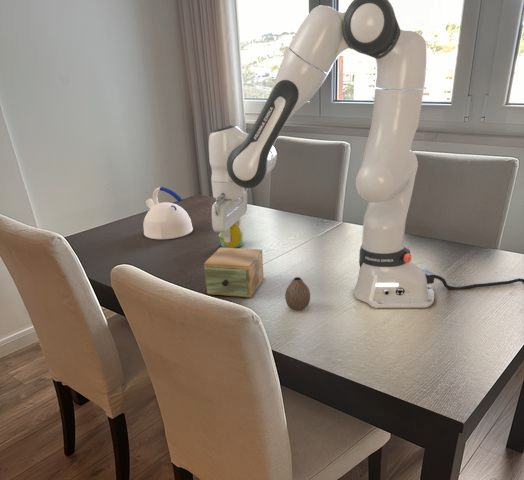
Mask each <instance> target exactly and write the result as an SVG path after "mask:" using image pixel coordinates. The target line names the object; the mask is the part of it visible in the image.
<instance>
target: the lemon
mask: <svg viewBox="0 0 524 480" xmlns="http://www.w3.org/2000/svg"><path fill="white" fill-rule="evenodd" d="M229 232H230V235H231V237H232V240H231V241H230V242H229V243H227V242H225V241H224V242H225V244H226V245H228V246H230V247H231V248H234V247H235V246H237V245H238V244H239V243H240V241H241V232H242V230H241V228H240V225H239V226H238V225H237V224H236V223H234V224H233V225H232V226H231V227H230V231H229ZM222 236H223V234H222ZM223 240H224V236H223Z"/></svg>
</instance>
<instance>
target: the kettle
mask: <svg viewBox="0 0 524 480" xmlns="http://www.w3.org/2000/svg"><path fill="white" fill-rule="evenodd" d="M160 191H162V192H165V193H166V194H169V195H170V196H172V197H173V198H174V199H175V200H176V201H177V203H181V202H183V201H184V200H183V198H182V197H181V196H180V195H179V194H178V193H177V192H175V191H173V190H171V189H169V188H168V187H164V186H159V187H156V188H155V189H154V190H153V192H152V196H151V197H152V198H148V199H146V201H144V202H145V203H144V204H145V206H146V207H147V208H148V209H149V210H148V211H147V213H146V215H145V217H144V219H143V222H142V226H143V236H144V237H146V238H148V239H151V240H161V241H162V240H163V241H164V240H173V239H174V240H175V239H178V238H182V237H185V236H188V235H189V234H191V233H192V232H193V230H194V227H193V223H192V219H191V217H190V215H189V214H188V212H187V211H186V210H185V209H184V208H183V207H181V206H180V205H179V204H176V203H173V202H165V201H164V202H159V199H158V196H159V195H158V194H159V192H160Z"/></svg>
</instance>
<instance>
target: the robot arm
mask: <svg viewBox="0 0 524 480" xmlns="http://www.w3.org/2000/svg"><path fill="white" fill-rule="evenodd" d="M396 17H397V16H396V14H395V10H394V8H393V6H392V3H391V2H390V0H352V1H351V2H350V4H349V5H348V7H347V8H346V10H345V11H338V10H337V9H335V8H334V7H332V6H329V5H318V6H316V7H314V8H312V9H311V11H310V12H309V14H307V16H306V17H305V19H304V20H303V21H302V23H301V25H300V26H299V27H298V29H297V31H296V33H295V34H294V36H293V38H292V40H291V41H290V43H289V45H288V47H287V50H286V51H285V54H284V56H283V58H282V60H281V62H280V65H279V67H278V71H277V74H276V75H275V79H274V81H273V84H272V87H271V89H270V92H269V94H268V97H267V100H266V101H265V103H264V105H263V107H262V109H261V111H260V113H259V115H258V117H257V119H256V120H255V122H254V124H253V126H252V127H251V130H250V131H249V133H247V132H245V131H244V130H242V129H240V128H239V127H238V126H237V125H235V124H230V125H224V126H221V127H218V128H214V129H213V130H212V131H211V132H210V134H209V136H208V159H209V165H210V168H211V178H210V180H211V190H212V191H211V192H212V197H213V198H214V199H215V202H214V203H213V204H212V206H211V226H212V230H213V232H214V233H221V232H222V234H223V236H224V241H225V242H227V243H229V242H230V241H231V240H232V237H231V235H230V232H229V231H230V227H231V226H232V225H233V224H234V223H236V224H237V225H238V226H239V227H240V226H241V225H240V224H241V218H242V217H243V216H245V214H246V213H247V210H248V192H247V191H248V189H252V188H255V187H257V186H259V185H260V184H261V182H262V181H263V180H264V179H265V178H266V177H267V176H268V175H269V174H270V173H271V172H272V171H273V170H274V168H275V167H276V165H277V161H278V153H277V150H276V147H275V143H276V141H277V139H278V138H279V136H280V134H281V132H282V131H283V128H284V127H285V125H286V124H287V122H288V121H289V120H290V118H291V117H292V116H293V115H294V114H295V113H296V112H297V111H298V110H299V109H301V108H302V107H303V106H304V105H305V104H306V103H308V102H309V101H310V100H311V99H312V98H313V97H314V96H315V94H317V92H318V91H319V89H321V86H322V85H323V84H324V82H325V80H326V79H327V77H328V75H329V73H330V72H331V70H332V68H333V66H334V64H335V62H336V61H337V59H338V58H339V56H340V55H342V54H343V52H345V51H346V50H350V49H351V50H353V51H356V52H357V53H359V54H362V55H366V56H368V57H370V58H374V59H375V61H376V68H377V69H376V81H375V89H374V97H373V107H372V115H371V122H370V128H369V132H368V135H367V136H368V137H367V139H366V143H365V146H364V151H363V155H362V160H361V162H360V163H361V164H360V167H359V170H358V172H357V174H356V177H355V188H356V191H357V193H358V195H359V196H360V198H362V199H363V200H365V201H366V202H368V204H367V207H366V210H365V213H364V216H363V221H362V238H361V245H360V248H359V253H358V254H359V255H358V256H359V257H358V263H359V269H358V270H359V271H358V274H357V275H358V276H357V280H356V283H355V287H354V289H353V296H354V297H355V298H356V299H358V300H359V301H361V302H363V303H366V304H367V305H369V306H370V307H372V308H374V309H386V308H387V309H393V308H394V309H408V308H409V309H411V308H412V309H418V308H419V309H422V308H423V309H424V308H429V307H431V306H432V305H433V304H434V302H435V290H434V289H433V287H431V286H430V285H432V284H434V283H435V279H437V280H439V281H440V282H442V285H443V287H444V288H445V289H448V290H451V291H454V290H458V291H459V290H469V289H474V288H484V287H485V288H486V287H494V286H495V287H496V286H502V285H503V286H504V285H511V284H515V283H523V284H524V278H515V279H510V280H505V281H494V282H484V283H473V284H468V285H464V286H451V285H449V284H448V283H447V281H446V279H445V278H444V277H442V276H441V275H438V274H435V273H433V272H432V271H430V270H429V269H428V268H423V269H422V268H420V267H419V266H417V265H416V264H415V263H413V261H412V254H411V250H410V247H409V246H407V247H406V246H405V245H404V243H405V232H406V223H407V218H408V212H409V208H410V204H411V200H412V197H413V196H412V195H413V190H414V186H415V181H416V176H417V172H418V169H419V162H418V157H417V155H416V154H415V152H414V151H412V150H411V148H412V145H413V141H414V138H415V135H416V132H417V130H418V127H419V122H420V118H421V117H420V116H421V110H422V104H423V98H424V90H425V85H426V84H425V83H426V74H427V43H426V42H427V41H426V40H425V38H424V36H423V35H421V34H420V33H418V32H416V31H412V30H404V29H401V28H400V25H399V23H398V20H397V18H396Z"/></svg>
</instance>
